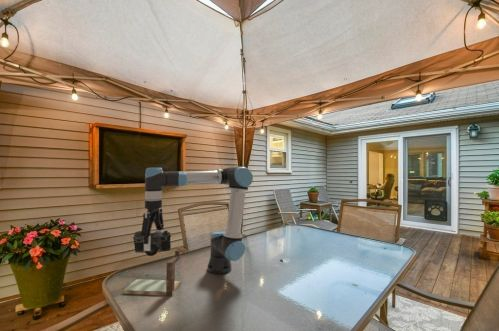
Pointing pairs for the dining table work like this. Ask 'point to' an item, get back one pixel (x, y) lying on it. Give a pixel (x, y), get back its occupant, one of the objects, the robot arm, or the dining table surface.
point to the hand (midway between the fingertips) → (153, 246)
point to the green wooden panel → (157, 282)
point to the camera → (153, 242)
